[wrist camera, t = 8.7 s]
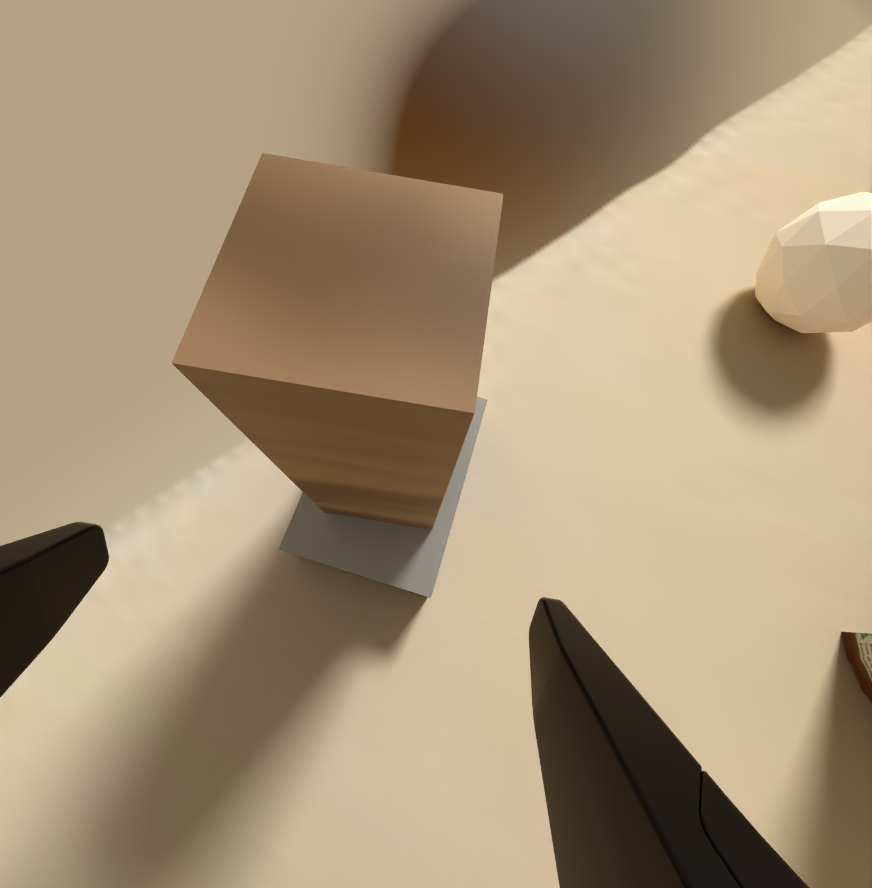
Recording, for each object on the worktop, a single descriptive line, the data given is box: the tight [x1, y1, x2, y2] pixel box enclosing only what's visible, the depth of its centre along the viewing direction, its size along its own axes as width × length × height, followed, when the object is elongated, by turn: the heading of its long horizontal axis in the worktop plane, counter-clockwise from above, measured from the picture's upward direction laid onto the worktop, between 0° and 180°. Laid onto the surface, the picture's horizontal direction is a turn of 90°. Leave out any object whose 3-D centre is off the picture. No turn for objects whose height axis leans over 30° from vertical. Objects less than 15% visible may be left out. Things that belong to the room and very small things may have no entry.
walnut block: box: [172, 153, 503, 530], centre depth 14 cm, size 5×5×13 cm
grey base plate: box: [279, 397, 487, 598], centre depth 21 cm, size 10×7×3 cm
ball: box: [755, 192, 872, 333], centre depth 25 cm, size 8×8×8 cm
